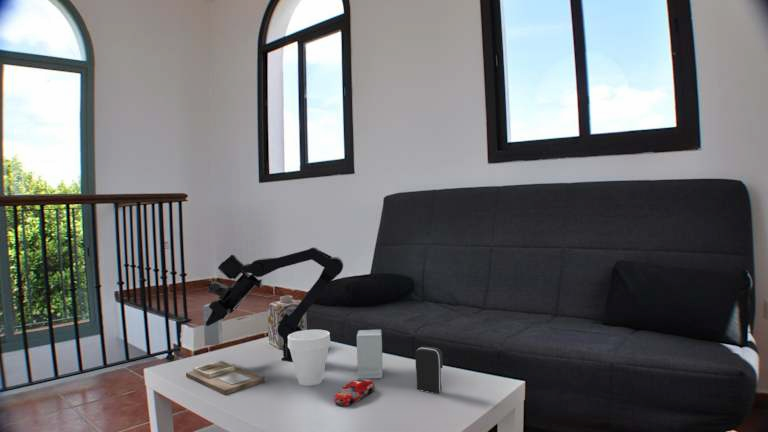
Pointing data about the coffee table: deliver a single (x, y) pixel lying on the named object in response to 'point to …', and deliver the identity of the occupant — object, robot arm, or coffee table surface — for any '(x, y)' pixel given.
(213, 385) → the wooden board
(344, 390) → the race car
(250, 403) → the coffee table surface
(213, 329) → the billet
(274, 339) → the decorative jar
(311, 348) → the cup
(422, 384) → the battery charger
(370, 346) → the supplement box
